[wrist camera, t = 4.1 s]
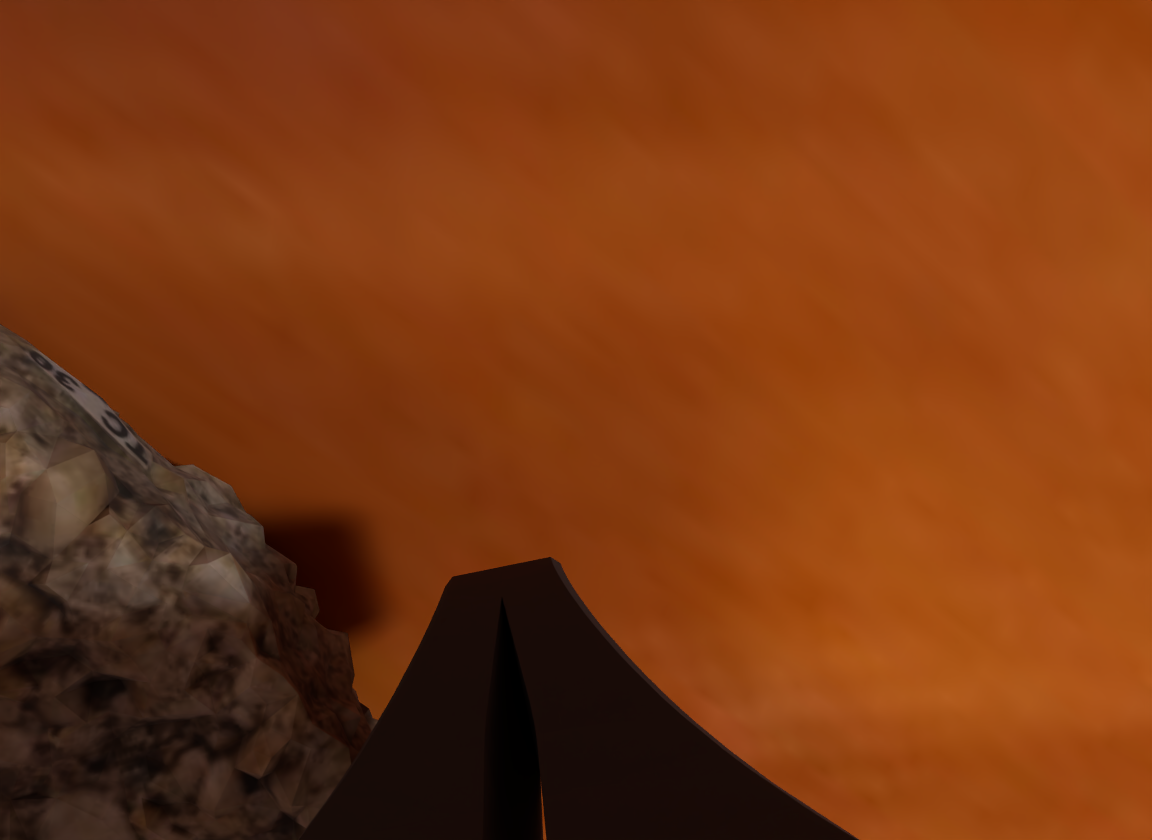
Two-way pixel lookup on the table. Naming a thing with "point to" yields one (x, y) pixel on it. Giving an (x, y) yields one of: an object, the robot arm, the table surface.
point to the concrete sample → (150, 639)
